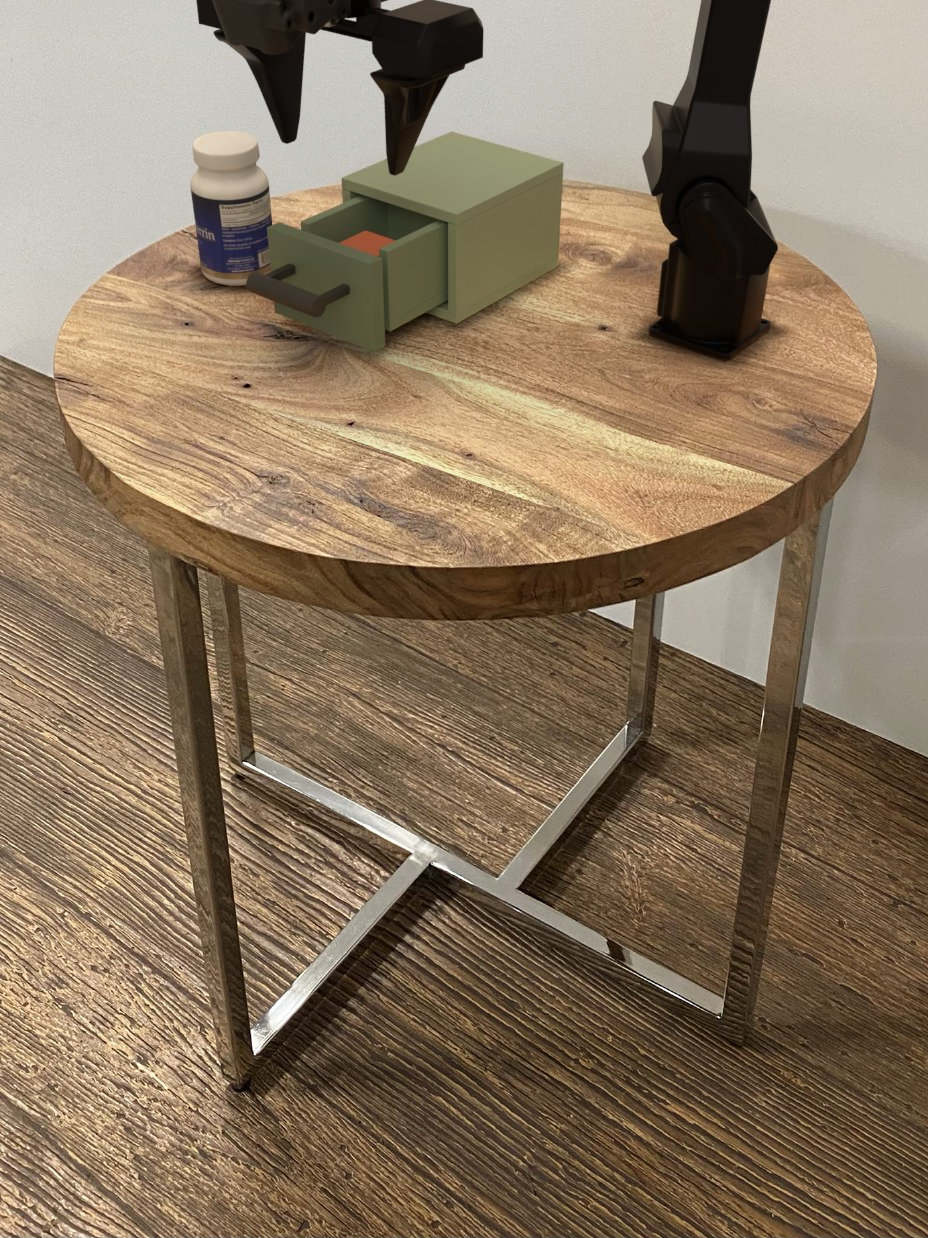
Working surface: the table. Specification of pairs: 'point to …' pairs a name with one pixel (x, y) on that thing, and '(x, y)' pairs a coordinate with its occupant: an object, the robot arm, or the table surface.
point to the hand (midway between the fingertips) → (341, 157)
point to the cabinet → (477, 213)
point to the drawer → (356, 270)
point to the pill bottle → (230, 207)
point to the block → (367, 242)
